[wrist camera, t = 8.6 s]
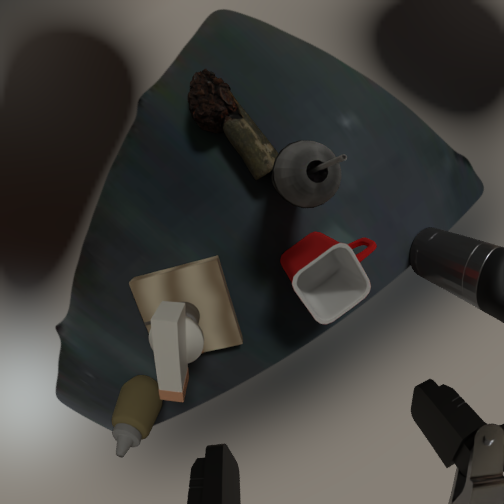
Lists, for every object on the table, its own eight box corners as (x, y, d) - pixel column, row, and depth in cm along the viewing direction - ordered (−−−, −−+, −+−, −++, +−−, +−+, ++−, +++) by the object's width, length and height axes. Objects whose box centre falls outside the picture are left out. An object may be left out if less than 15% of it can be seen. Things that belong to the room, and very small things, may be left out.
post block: (218, 255, 41) (213, 273, 32) (242, 336, 44) (244, 368, 35) (134, 277, 41) (111, 298, 32) (164, 351, 44) (151, 383, 35)
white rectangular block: (148, 295, 32) (131, 317, 26) (204, 300, 32) (197, 323, 26) (155, 368, 34) (144, 396, 28) (204, 373, 35) (200, 403, 29)
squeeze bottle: (150, 406, 47) (129, 473, 29) (119, 381, 45) (87, 446, 28) (174, 389, 46) (156, 462, 28) (141, 362, 44) (109, 432, 27)
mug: (303, 297, 43) (322, 329, 33) (273, 257, 41) (286, 279, 31) (362, 253, 42) (396, 272, 32) (337, 211, 40) (368, 218, 30)
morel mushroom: (282, 162, 39) (289, 159, 33) (243, 188, 39) (244, 188, 34) (214, 72, 35) (210, 57, 29) (176, 96, 35) (168, 84, 30)
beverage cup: (251, 179, 39) (266, 168, 19) (284, 144, 38) (329, 103, 18) (288, 213, 40) (336, 235, 21) (320, 178, 39) (391, 170, 20)
